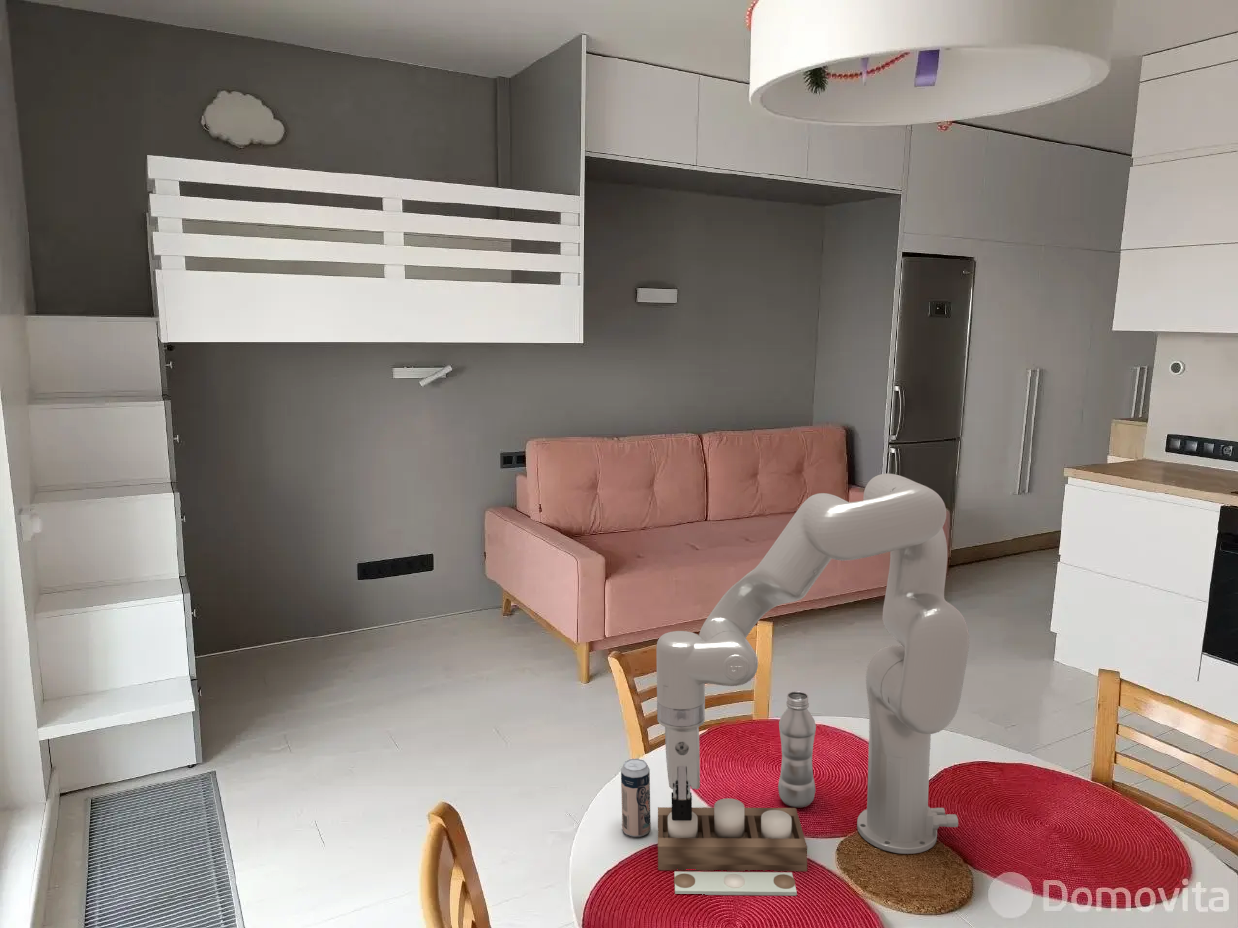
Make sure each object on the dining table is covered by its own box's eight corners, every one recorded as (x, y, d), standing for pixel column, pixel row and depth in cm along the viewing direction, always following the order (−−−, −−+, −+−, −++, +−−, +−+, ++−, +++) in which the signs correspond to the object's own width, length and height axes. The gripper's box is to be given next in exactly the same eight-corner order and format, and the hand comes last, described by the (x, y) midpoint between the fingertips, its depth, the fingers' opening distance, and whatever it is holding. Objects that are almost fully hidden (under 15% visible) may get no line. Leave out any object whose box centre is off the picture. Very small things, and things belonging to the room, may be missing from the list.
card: (792, 875, 131) (792, 871, 131) (797, 895, 127) (797, 890, 126) (673, 874, 132) (673, 870, 132) (674, 894, 127) (674, 889, 127)
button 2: (788, 834, 140) (789, 809, 139) (793, 852, 135) (793, 826, 134) (759, 834, 140) (759, 809, 139) (763, 852, 135) (763, 826, 135)
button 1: (697, 834, 141) (696, 809, 140) (698, 851, 136) (698, 826, 135) (667, 833, 141) (667, 809, 140) (668, 851, 136) (667, 826, 135)
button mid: (742, 823, 140) (742, 798, 139) (745, 840, 135) (745, 814, 134) (713, 822, 140) (713, 798, 139) (715, 840, 135) (715, 814, 135)
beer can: (648, 840, 141) (646, 772, 139) (619, 837, 142) (618, 770, 140) (652, 824, 146) (651, 758, 144) (625, 821, 147) (623, 756, 145)
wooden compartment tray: (795, 829, 143) (795, 807, 142) (806, 871, 132) (807, 847, 131) (658, 829, 144) (657, 807, 143) (658, 869, 133) (657, 846, 133)
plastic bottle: (818, 796, 153) (820, 690, 150) (810, 816, 147) (812, 706, 144) (783, 789, 156) (784, 685, 153) (773, 808, 150) (774, 700, 146)
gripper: (707, 732, 127) (707, 845, 130) (702, 690, 142) (702, 793, 145) (657, 732, 128) (658, 845, 130) (657, 690, 142) (658, 792, 145)
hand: (681, 817), depth 138 cm, fingers closed
